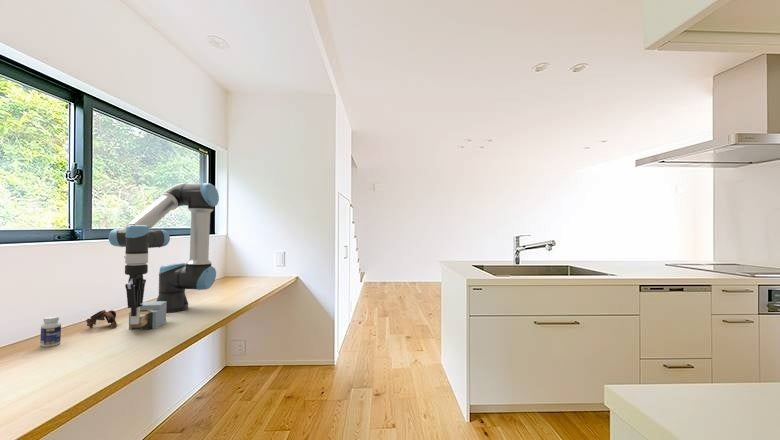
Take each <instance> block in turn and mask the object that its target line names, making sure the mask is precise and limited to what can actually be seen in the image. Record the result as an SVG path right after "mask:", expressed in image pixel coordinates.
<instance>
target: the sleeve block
mask: <svg viewBox="0 0 780 440" xmlns="http://www.w3.org/2000/svg"><path fill="white" fill-rule="evenodd" d="M142 304H143V306H139V307H140V312H141V311H146V310H152V311H151V312H149V323H147V324H145V325H144V326H142V327H133V328H130V314H131V311H129V313H128V330H131V331H137V330H139V331H141V330H156V329H158V328H159V327H161V326H162V325H163V324H164V323H166V322H167V312H166V307H167V301H143V303H142Z"/></svg>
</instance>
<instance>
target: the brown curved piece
mask: <svg viewBox="0 0 780 440" xmlns="http://www.w3.org/2000/svg"><path fill="white" fill-rule="evenodd" d="M116 317H117V313H116V311H115V310H109V311H106V310H105V309H103V310H99V311H98V312H96V313H95V314H93V315H91V316H90V318H87V319H85V322H86V327H88V328H91V329H92V328H93V327H94V326H96V324H97V321H106V322H107V323H108V324H109V325H110V326H111V329H114V328H116V327H117V326H118V324H117V321H116Z"/></svg>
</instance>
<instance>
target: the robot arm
mask: <svg viewBox="0 0 780 440" xmlns="http://www.w3.org/2000/svg"><path fill="white" fill-rule="evenodd" d="M219 201H220V196H219V191H218V189H217V188H216V186H215V185H213V184H212V183H207V182H182V183H177V184H175V185H173V186H170V187H169V188H167V189H166V190H164V191H163V192H161V193H160V194H159V195H158V198H157V200H155V201H154V202H152V204H150V205H149V206H148V207H147V208H145V209H144V210H143V211H142V212H141V213H139V214H138V215H137V216H136V217H135V218H134V219H132V220H131V221H130V222H129V223H128V224H126V225H125V226H124V227H122V228H115V229H112V230H111V231H110V232H109V234H108V241H109V243H110V245H111V246H113V247H119V248H123V247H124V248H125V253H124V254H125V255H124V256H123V258H124V259H125V260H124V264H125V265H124V275H127V276H129V277H128V283H125V289H126V299H127V300H126V302H127V308H128V309H130V312H131V314H130V324H139V323H140V307H139V306H143V304H142V303H143V302H144V293H145V287H146V282H147V279H145V278H144V275H147V273H148V271H149V269H148V268H149V265H148V264H147V263H149V249H151V248H154V249H155V248H163V247H165V246H167V245H169V242H170V240H171V238H170V237H171V236H170V234H169V232H168V231H166V230H164V229H158V228H157V229H152V228H153V227H154V226H155V225H156V224H157V223H159V221H161V220H162V219H163V218H164V217H166V216H167V215H168V213H170V212H171V211H174V210H176V209H177V208H179V207H183V206H184V207H185V206H187V209H188V210H189V211H190V213H191V214H190V236H189V237H190V238H189V260H188V261H186V262H179V263H172V264H165V265H162V266H160V267H159V272H158V296H157V298H156V301H167V307H166V313H176V312H180V311H181V312H182V311H186V310H188V309H189V300H188V298H187V296H186V290H198V291H204V290H208V289H210V288H211V287H212V286H213V285H214V283H215V281H216V278H217V270H216V267H214V266H212V262H211V261H210V260H209V255H210V252H209V251H210V228H211V227H210V226H211V225H210V224H211V213H212V212H213V211H214V207H215V206H217V205H218V204H219ZM156 301H155V302H156Z"/></svg>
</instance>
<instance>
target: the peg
mask: <svg viewBox="0 0 780 440" xmlns="http://www.w3.org/2000/svg"><path fill="white" fill-rule="evenodd" d="M151 311H152V310H146V311H141V312H140V323H139V324H130V328H133V327H142V326H144V325H145V324H147V323H149V312H151Z"/></svg>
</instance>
